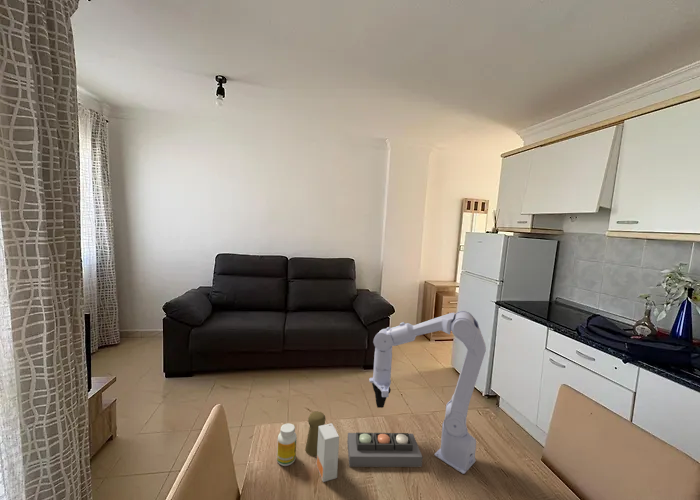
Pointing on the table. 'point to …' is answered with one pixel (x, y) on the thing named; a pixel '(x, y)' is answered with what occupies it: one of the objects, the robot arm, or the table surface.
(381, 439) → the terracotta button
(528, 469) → the table surface
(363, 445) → the charcoal button panel
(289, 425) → the supplement bottle
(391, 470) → the table surface
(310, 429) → the olive pepper mill
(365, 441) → the sage button
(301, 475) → the table surface
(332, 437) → the skincare box
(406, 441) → the cream button
